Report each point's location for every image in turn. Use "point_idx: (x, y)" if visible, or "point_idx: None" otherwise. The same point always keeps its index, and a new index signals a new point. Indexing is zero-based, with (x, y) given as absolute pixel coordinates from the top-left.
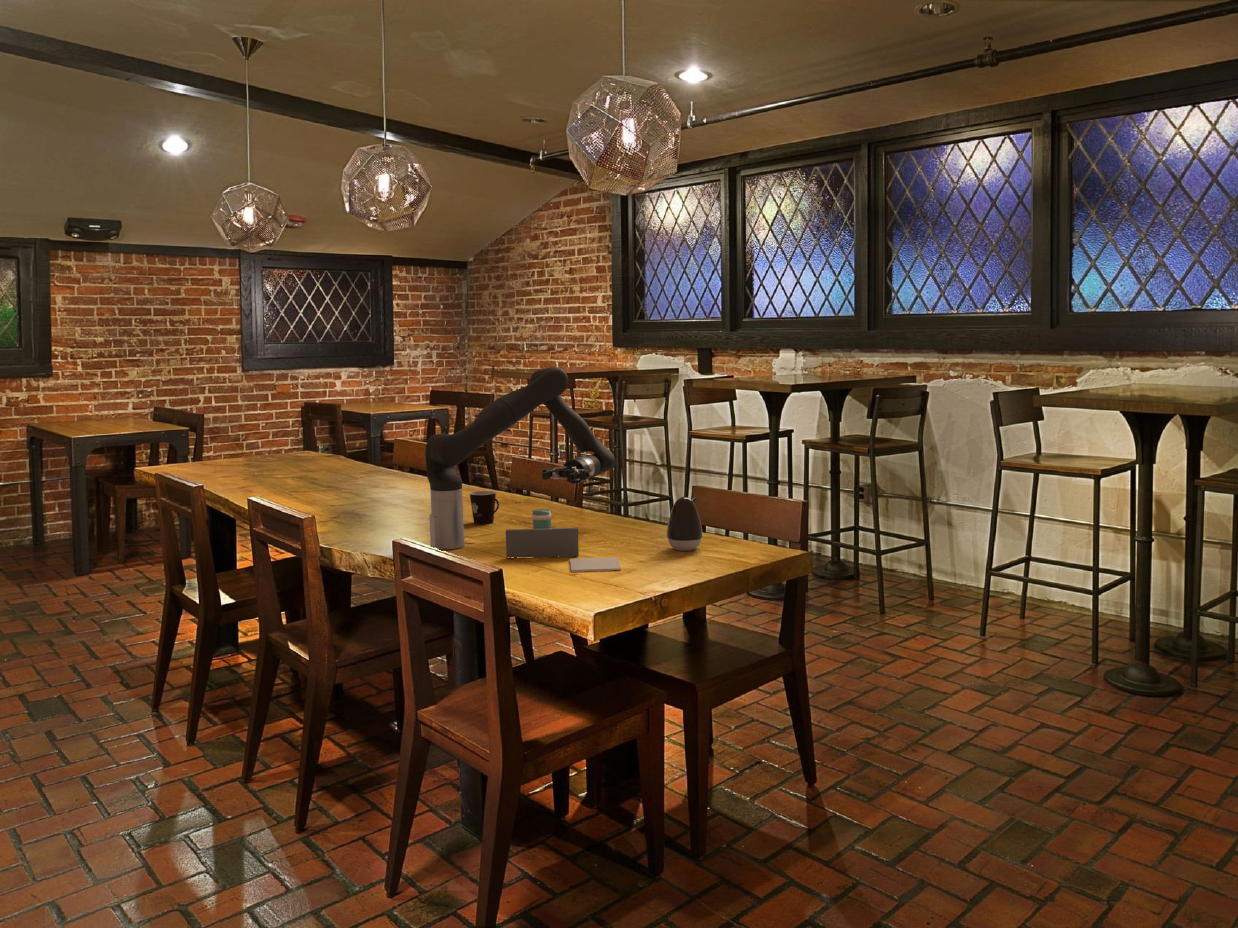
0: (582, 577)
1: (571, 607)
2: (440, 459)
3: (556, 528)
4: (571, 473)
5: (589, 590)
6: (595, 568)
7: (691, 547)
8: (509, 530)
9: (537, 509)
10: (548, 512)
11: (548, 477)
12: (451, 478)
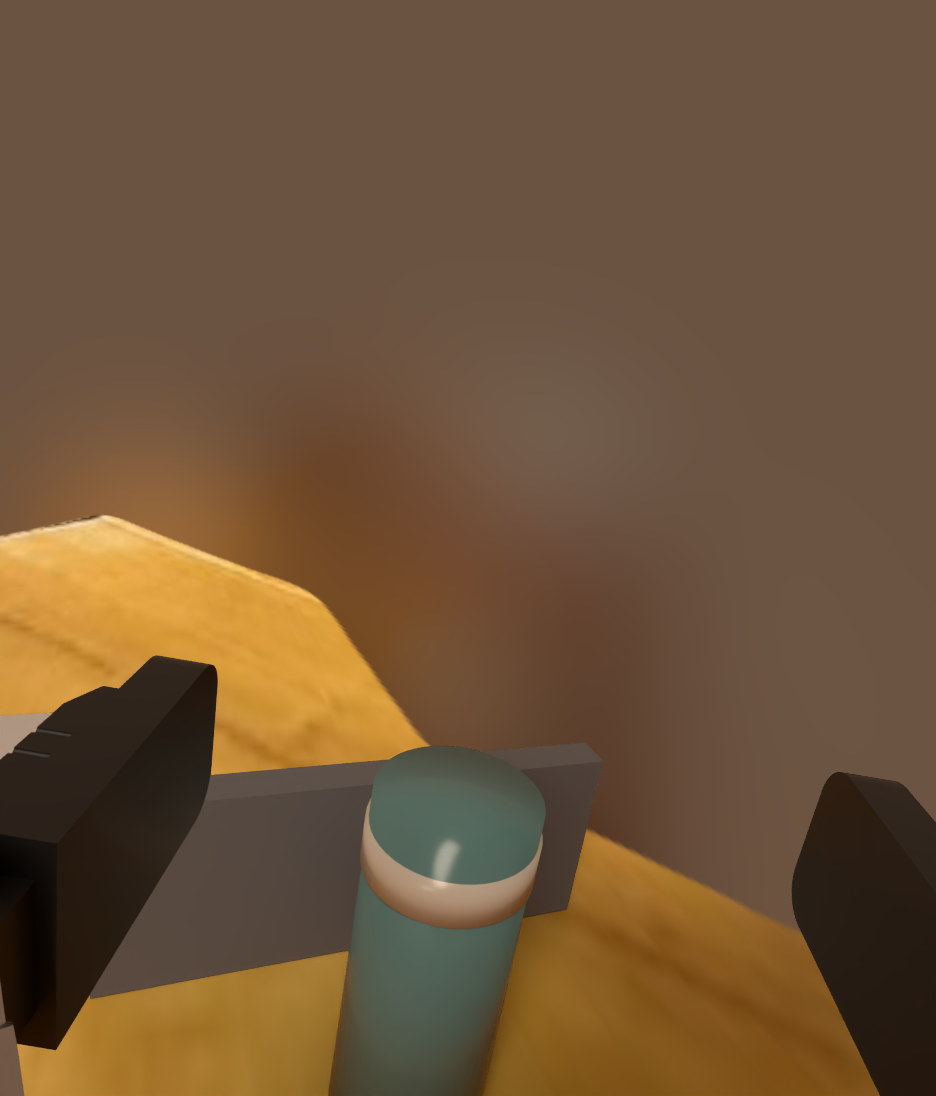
0: (105, 671)
1: (154, 536)
2: None
3: (275, 785)
4: (167, 677)
5: (94, 593)
6: (28, 721)
7: None
8: (565, 744)
9: (521, 828)
10: (381, 775)
11: (879, 1029)
12: None
